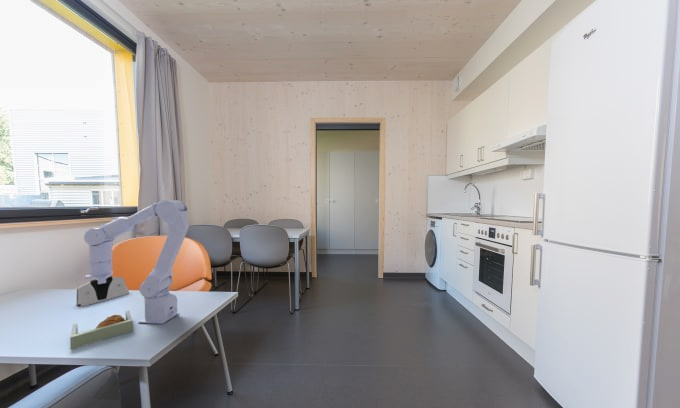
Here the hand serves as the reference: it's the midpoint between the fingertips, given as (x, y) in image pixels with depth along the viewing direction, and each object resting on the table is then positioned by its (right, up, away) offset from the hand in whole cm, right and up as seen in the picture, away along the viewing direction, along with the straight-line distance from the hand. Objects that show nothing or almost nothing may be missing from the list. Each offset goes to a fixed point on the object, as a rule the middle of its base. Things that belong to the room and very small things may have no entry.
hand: (102, 299), depth 87 cm
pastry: (+7, -9, -5) cm, 12 cm away
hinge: (-21, -9, +22) cm, 31 cm away
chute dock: (+7, -8, -6) cm, 13 cm away
